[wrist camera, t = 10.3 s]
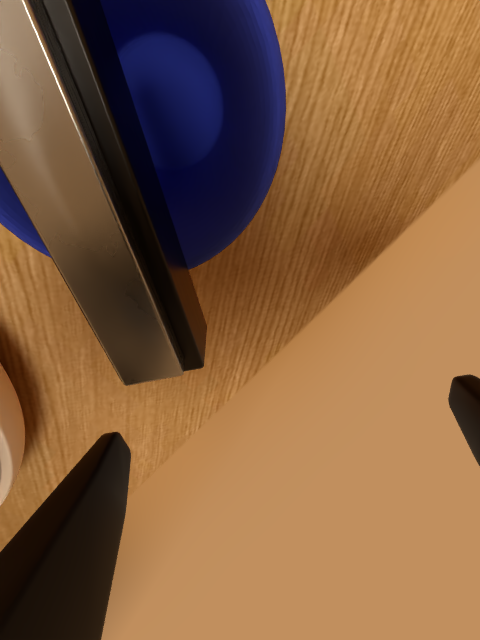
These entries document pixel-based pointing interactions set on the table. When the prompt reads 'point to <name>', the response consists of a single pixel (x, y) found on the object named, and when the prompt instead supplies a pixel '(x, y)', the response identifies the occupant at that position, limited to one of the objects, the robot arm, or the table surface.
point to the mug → (197, 113)
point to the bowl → (10, 435)
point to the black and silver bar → (95, 186)
